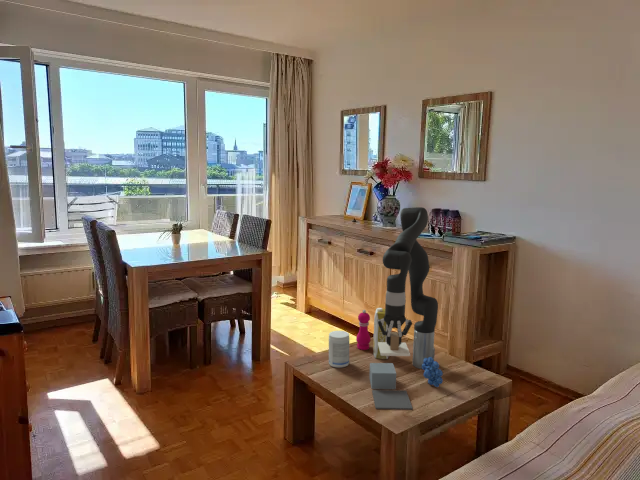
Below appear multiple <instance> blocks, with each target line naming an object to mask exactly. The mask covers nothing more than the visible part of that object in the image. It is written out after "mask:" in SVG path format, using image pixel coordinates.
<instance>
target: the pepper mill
mask: <svg viewBox="0 0 640 480" xmlns="http://www.w3.org/2000/svg"><path fill="white" fill-rule="evenodd" d="M370 319H371V316H370V314H369V313H367V310H366V309H363V310H362V312H360V313H359V314H358V315H357V320H358V321H359V322H358V325H359V331H358V333H357V335H356V339H355V340H356V342H357V343H356V348H357V350H360V349H361V351H366V350H369V349H370V342H371V340H372V339H371V336H370V333H369V325H370Z"/></svg>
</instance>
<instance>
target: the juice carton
mask: <svg viewBox="0 0 640 480" xmlns="http://www.w3.org/2000/svg"><path fill="white" fill-rule="evenodd" d="M384 316H385V308H383V307H376V309H375V311H374V319H373V320H374V321H373V343H372V344H373V345H372V346H373V347H372V350H373V357H374V359H377V360H378V359H380V360H388V359H389V357H390V356H381V354H380V350H379V347H378V342H386V338H387V336H386V335H383V334H382V332H381V329H380V327H379V324H378V322H377V320H378V319H380V320H381V319H383V318H384ZM387 327H388V325H387V324H386V322H385V321H384V324H383V328H384V330H385V331H387Z"/></svg>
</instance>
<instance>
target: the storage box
mask: <svg viewBox="0 0 640 480" xmlns="http://www.w3.org/2000/svg"><path fill="white" fill-rule="evenodd" d="M369 383H370V388H371V389H372V390H397V372H396V369H395V365H394V363H392V362H369Z"/></svg>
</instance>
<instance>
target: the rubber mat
mask: <svg viewBox="0 0 640 480" xmlns="http://www.w3.org/2000/svg"><path fill="white" fill-rule="evenodd" d="M371 392H372V398H373V402H374V407H375V410H406V411H407V410H412V411H413V406H412V403H411V400H410V397H409V394H408V391H407V390H405V389H403V390H397V389H372V390H371Z"/></svg>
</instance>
